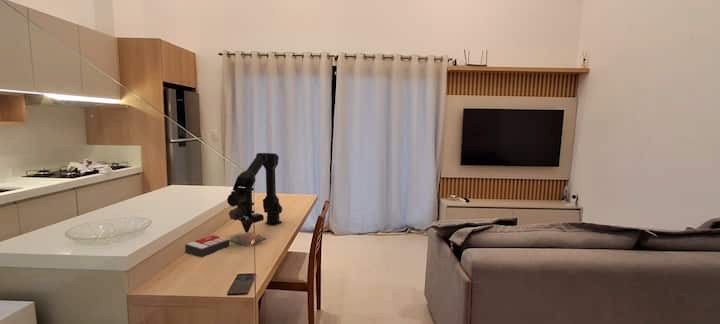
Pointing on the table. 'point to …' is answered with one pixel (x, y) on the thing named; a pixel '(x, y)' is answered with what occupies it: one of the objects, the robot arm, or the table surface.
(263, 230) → the table surface
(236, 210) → the robot arm
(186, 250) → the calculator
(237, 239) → the mat
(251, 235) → the block
